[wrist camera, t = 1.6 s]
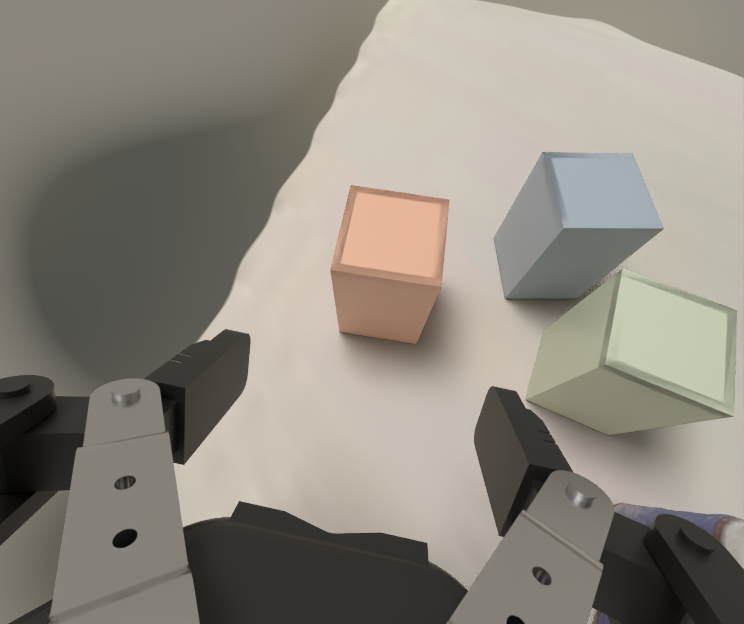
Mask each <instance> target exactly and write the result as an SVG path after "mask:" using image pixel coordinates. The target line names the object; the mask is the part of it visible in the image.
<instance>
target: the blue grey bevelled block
mask: <svg viewBox="0 0 744 624" xmlns="http://www.w3.org/2000/svg"><path fill="white" fill-rule="evenodd" d="M663 229H664V227H663V225H662V223H661V220H660V218H659V215H658V213H657V211H656V208H655V206H654V203H653V201H652V199H651V196H650V194H649V191H648V189H647V187H646V184H645V182H644V179H643V177H642V175H641V172H640V170H639V167H638V165H637V163H636V160H635V158H634V155H633V153H562V152H542V154H541V156H540V158H539V159H538V161H537V163H536V165H535V166H534V168H533V170H532V172H531V173H530V175H529V177H528V179H527V180H526V182H525V184H524V186H523V187H522V189H521V191H520V193H519V195H518V196H517V198H516V200H515V202H514V203H513V205H512V207H511V209H510V210H509V212H508V214H507V216H506V217H505V219H504V221H503V223H502V224H501V226H500V228H499V230H498V231H497V233H496V235H495V237H494V241H495V247H496V252H497V258H498V263H499V269H500V274H501V280H502V285H503V291H504V296H505V299H577V298H578V297H579V296H581V295H582V294H583V293H584V292H586V291H587V290H588V289H589V288H591V287H592V286H593V285H594V284H596V283H597V282H598V281H599V280H601V279H602V278H603V277H604V276H606V275H607V274H608V273H609V272H611V271H612V270H613V269H614V268H616V267H617V266H618V265H619V264H620V263H622V262H623V261H624V260H625V259H627V258H628V257H629V256H630V255H632V254H633V253H634V252H635V251H637V250H638V249H639V248H640V247H642V246H643V245H644V244H645V243H647V242H648V241H649V240H650V239H652V238H653V237H654V236H655V235H657V234H658V233H659V232H660V231H662V230H663Z"/></svg>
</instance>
